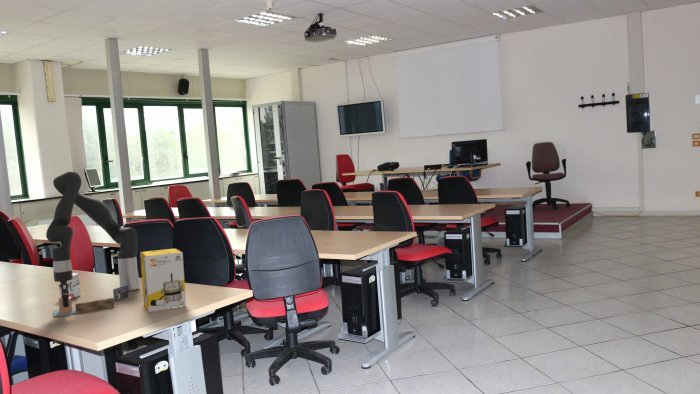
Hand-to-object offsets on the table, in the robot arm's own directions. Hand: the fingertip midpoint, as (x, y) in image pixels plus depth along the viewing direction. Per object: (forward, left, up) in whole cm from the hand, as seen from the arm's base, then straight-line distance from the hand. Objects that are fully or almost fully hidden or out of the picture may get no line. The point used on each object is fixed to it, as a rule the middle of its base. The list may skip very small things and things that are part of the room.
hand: (65, 305), depth 253 cm
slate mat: (0, 0, -3) cm, 3 cm away
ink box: (-4, -34, -4) cm, 34 cm away
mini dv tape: (-25, -11, -4) cm, 27 cm away
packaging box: (-40, +18, -4) cm, 44 cm away
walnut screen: (-12, +3, -3) cm, 13 cm away
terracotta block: (0, 0, -3) cm, 3 cm away
